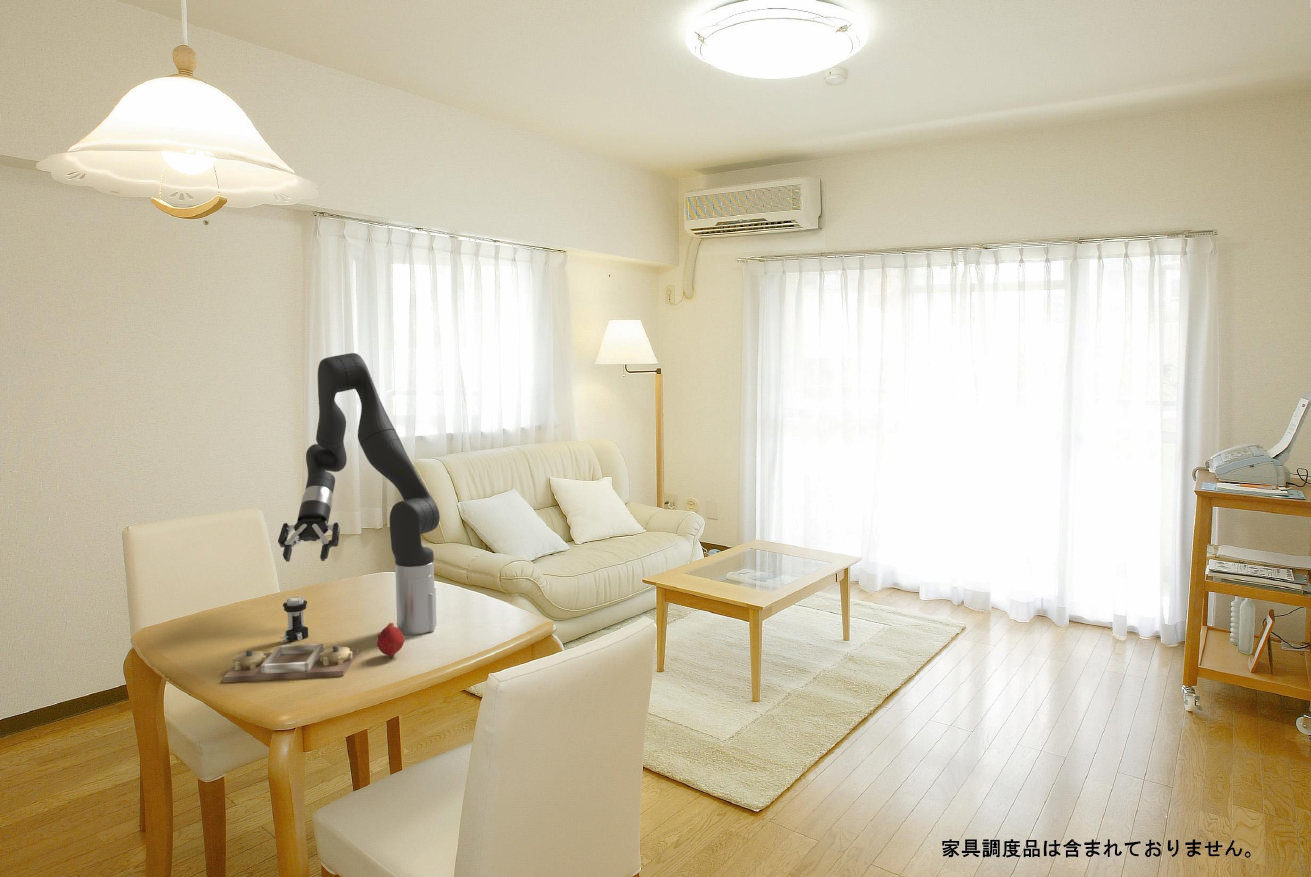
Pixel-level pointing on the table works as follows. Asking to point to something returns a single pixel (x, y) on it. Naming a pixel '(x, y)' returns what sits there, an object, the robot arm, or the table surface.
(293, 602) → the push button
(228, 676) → the gear board
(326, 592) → the table surface
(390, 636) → the onion
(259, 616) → the table surface
